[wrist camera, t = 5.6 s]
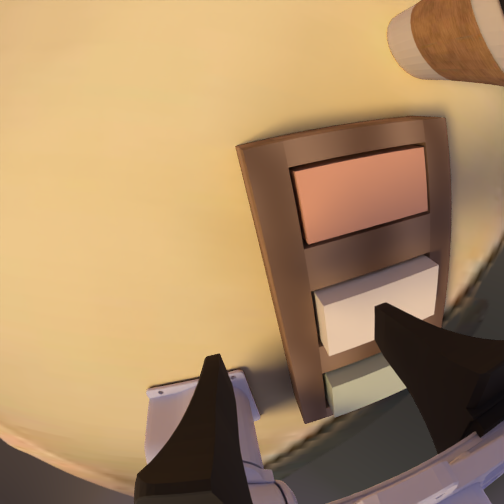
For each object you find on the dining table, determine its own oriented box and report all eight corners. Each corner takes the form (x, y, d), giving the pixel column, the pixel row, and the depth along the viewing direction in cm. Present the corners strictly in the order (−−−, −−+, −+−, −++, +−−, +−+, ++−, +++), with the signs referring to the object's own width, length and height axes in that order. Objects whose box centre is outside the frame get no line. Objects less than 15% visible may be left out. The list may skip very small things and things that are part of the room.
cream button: (312, 323, 24) (329, 356, 20) (304, 276, 22) (323, 306, 18) (408, 290, 24) (433, 314, 21) (408, 244, 23) (438, 264, 19)
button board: (294, 394, 29) (304, 424, 25) (235, 146, 19) (242, 150, 16) (413, 349, 30) (432, 372, 26) (412, 115, 20) (445, 117, 16)
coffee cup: (381, -17, 15) (518, -80, 2) (457, 34, 17) (593, 23, 4) (361, 64, 18) (539, 28, 4) (443, 111, 20) (600, 135, 6)
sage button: (320, 386, 27) (334, 417, 23) (316, 355, 25) (332, 387, 22) (402, 354, 28) (422, 380, 24) (406, 322, 26) (428, 347, 22)
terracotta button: (290, 224, 22) (308, 244, 18) (278, 163, 20) (294, 171, 17) (397, 196, 22) (427, 210, 19) (391, 141, 21) (423, 147, 17)
